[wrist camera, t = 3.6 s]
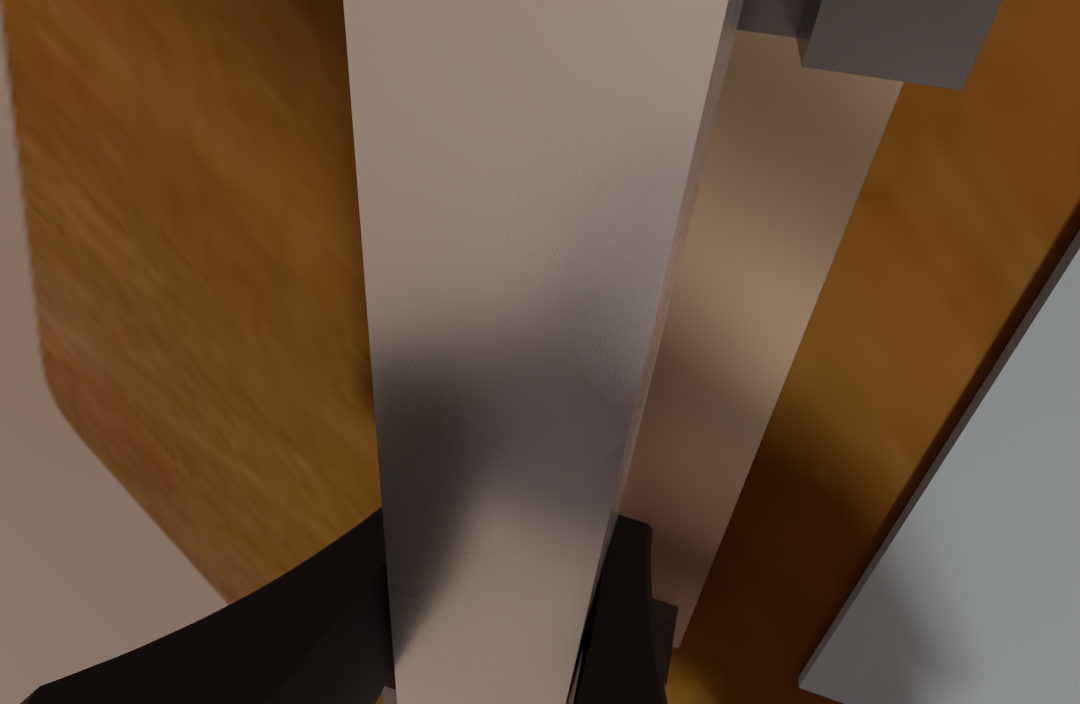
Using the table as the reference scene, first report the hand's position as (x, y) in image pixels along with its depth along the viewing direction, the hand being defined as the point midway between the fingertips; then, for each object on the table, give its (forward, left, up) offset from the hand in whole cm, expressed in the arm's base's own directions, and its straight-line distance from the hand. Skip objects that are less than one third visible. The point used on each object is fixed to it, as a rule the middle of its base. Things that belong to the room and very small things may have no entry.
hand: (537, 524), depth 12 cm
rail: (0, 0, 0) cm, 0 cm away
